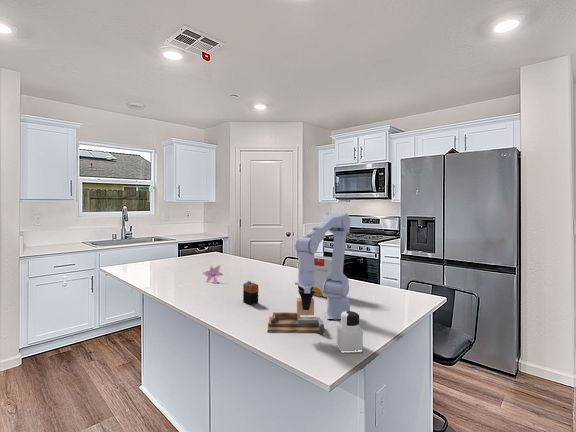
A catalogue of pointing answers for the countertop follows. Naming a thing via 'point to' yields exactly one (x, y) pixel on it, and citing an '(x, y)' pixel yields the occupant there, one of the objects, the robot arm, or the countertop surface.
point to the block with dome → (305, 312)
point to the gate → (314, 321)
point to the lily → (213, 274)
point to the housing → (290, 323)
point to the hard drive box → (321, 273)
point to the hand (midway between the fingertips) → (305, 307)
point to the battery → (250, 293)
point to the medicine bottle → (349, 332)
